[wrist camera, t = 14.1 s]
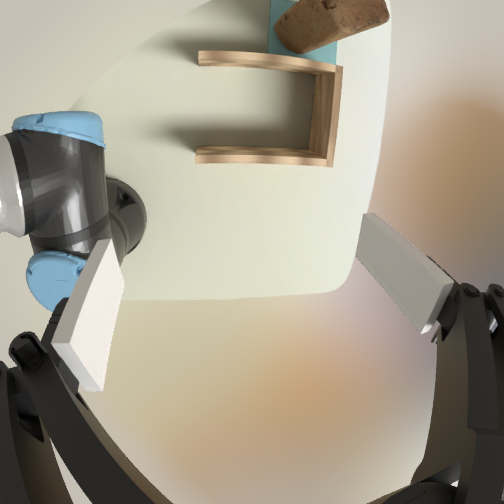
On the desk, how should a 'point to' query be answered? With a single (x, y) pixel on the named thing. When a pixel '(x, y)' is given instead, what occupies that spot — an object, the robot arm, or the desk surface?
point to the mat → (277, 48)
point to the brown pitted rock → (327, 22)
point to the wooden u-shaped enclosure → (322, 111)
